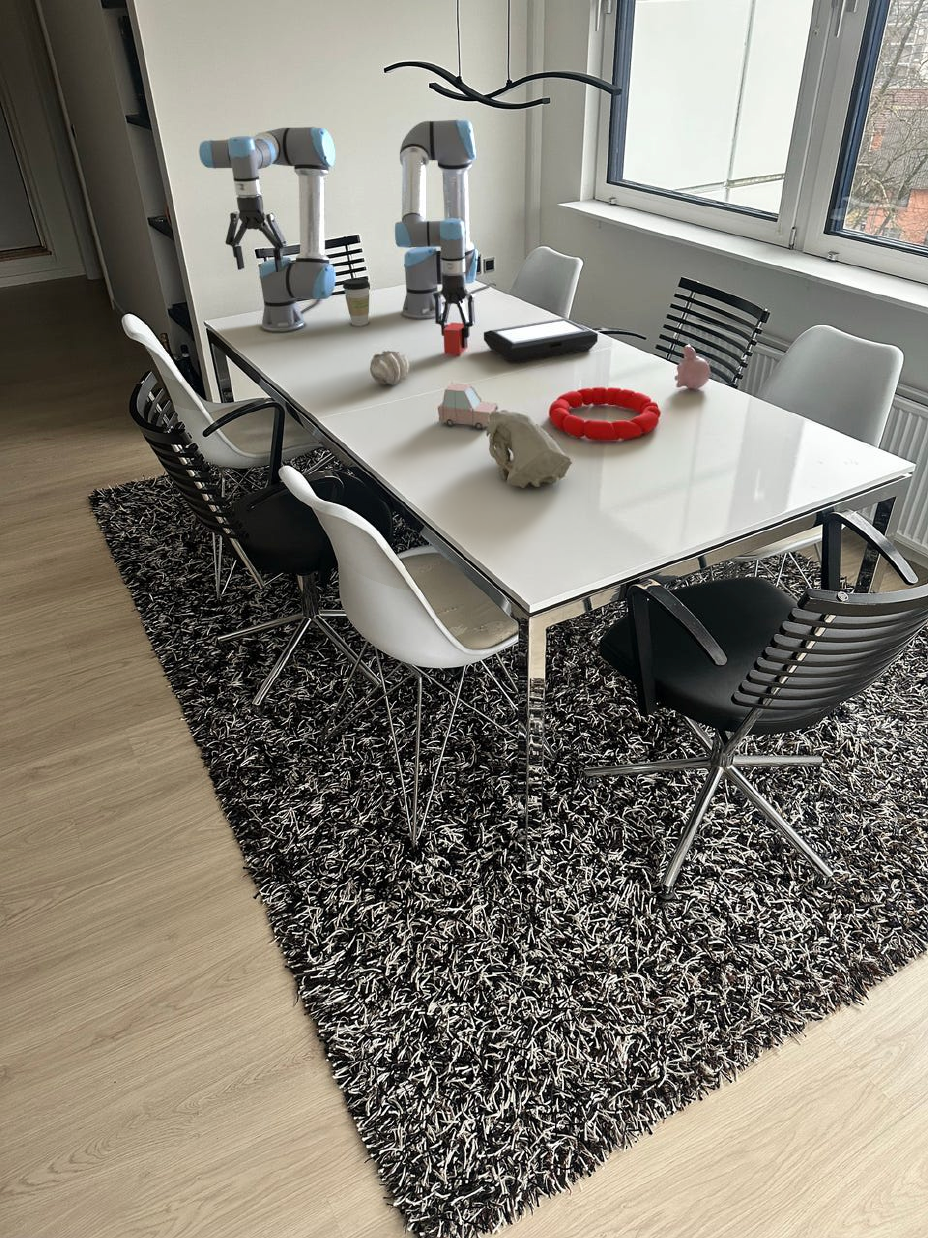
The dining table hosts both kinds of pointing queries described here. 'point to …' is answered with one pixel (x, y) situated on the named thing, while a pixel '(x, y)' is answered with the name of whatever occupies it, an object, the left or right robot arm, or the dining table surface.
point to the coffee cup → (357, 300)
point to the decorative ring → (604, 428)
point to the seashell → (389, 367)
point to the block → (453, 339)
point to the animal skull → (525, 450)
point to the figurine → (692, 370)
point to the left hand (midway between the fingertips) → (260, 269)
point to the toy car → (465, 406)
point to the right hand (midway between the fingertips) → (455, 346)
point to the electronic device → (540, 340)
